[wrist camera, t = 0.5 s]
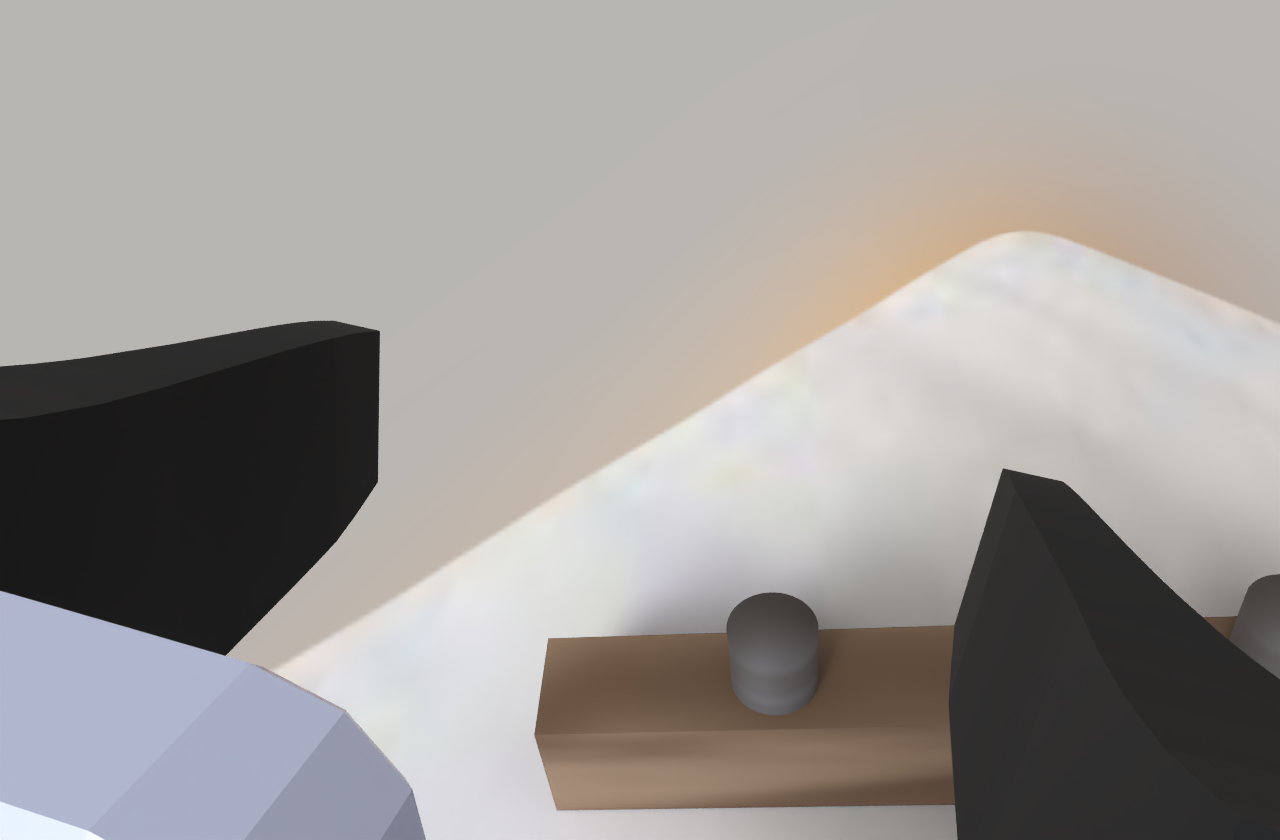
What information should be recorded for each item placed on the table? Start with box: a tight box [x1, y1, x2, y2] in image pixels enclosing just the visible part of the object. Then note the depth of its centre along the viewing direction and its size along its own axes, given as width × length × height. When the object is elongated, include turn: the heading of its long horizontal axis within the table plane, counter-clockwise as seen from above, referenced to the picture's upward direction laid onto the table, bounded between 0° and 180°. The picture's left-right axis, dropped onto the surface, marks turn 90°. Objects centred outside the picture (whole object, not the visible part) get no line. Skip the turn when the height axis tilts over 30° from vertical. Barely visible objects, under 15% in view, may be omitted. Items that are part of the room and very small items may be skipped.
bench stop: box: [535, 574, 1280, 810], centre depth 27 cm, size 3×24×6 cm, turn 88°
